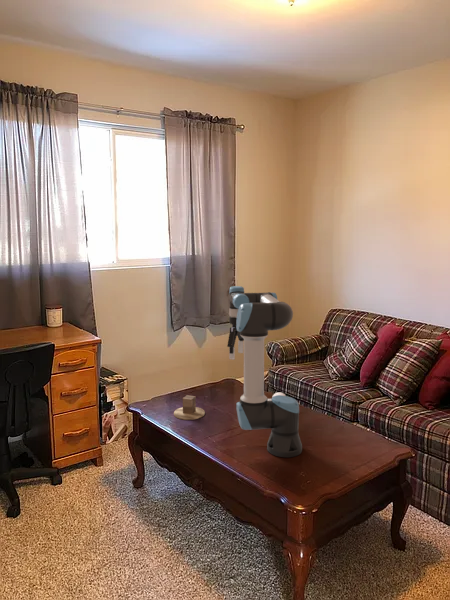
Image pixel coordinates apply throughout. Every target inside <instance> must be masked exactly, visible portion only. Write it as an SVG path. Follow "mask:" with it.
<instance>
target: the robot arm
mask: <svg viewBox="0 0 450 600" xmlns="http://www.w3.org/2000/svg"><path fill="white" fill-rule="evenodd" d="M228 296H229V309H228V310H229V311H228V312H229V314H228V315H229V318H228V319H229V320H228V321H229V324H230V325H232V327H230V328H229V334H228V340H227V341H228V342H227V346H226V347H227V348H229V349H228V350H229V351H228V352H229V353H228V357H229V358H228V359H229V360H233V361H234V360H236V358H235V357H236V356H235V353H236V352H235V351H236V348H235V344H236V340H237V338H238V342H237V343H238V344H237V353H238V354H243V394H241V396H240V399H239V401H238V402H236V403H235V404H236V405H235V406H236V415H237V421H238V423H239V424H238V425H239V426H240V428H241V429H242V430H246V431H252V430H255V431H256V430H267V429H270V431H271V432H270V434H269V437H268V440H267V443H266V446H267V447H266V450H267V452H268V453H269V454H270V455H272V456H275V457H281V458H294V457H297V456H299V455H301V454H302V452H303V444H302V441H301V438H300V435H299V426H300V425H299V422H300V420H299V419H300V405H299V402H298V400H296V399H295V398H294V397H291V396H287V395H286V396H282V395H276V396H273V395H272V397H271V398H270V399H271V400H272V401H267V399H268V397H267V396H266V395H265V339H267V337H268V336H269V331H279V330H282V329H284V328H285V327H287V326H289V324H290V323H291V322H292V321H293V317H294V312H293V308H292V307H291V305H290V304H288V303H287V302H285V301H280V300H279V299H278V295H277V293H276V292H245V287H244V286H239V285H235V286H230V287H229V292H228Z"/></svg>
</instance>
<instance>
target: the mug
mask: <svg viewBox="0 0 450 600" xmlns="http://www.w3.org/2000/svg"><path fill="white" fill-rule="evenodd" d="M276 395H282V396H287V395H286V394H285V393H284V392H275V393H274V394H273V395H272V397H273V396H276ZM271 399H272V398H267V401H272V400H271Z"/></svg>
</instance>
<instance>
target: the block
mask: <svg viewBox="0 0 450 600" xmlns="http://www.w3.org/2000/svg"><path fill="white" fill-rule="evenodd" d="M196 399H197V398H196V396H194V395H188V394H187V395H185V396H184V397H182V407H183V413H185V414H191V415H192V414H193V413H194V412H195V411H196V407H197V404H196V403H197V402H196Z"/></svg>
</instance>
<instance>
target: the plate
mask: <svg viewBox="0 0 450 600" xmlns="http://www.w3.org/2000/svg"><path fill="white" fill-rule="evenodd" d="M205 414H206V412H205V410H204V409H203V408H201V407H197V406H196V411H195V412H194V413H193V414H192V415H191V414H185V413H183V406H182V407H179V408H176V409H175V410H174V412H173V416H174V417H175V418H177V420H178V419H179V420H185V421H193V420H198V419H202V418H203V417H204V416H205Z"/></svg>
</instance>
